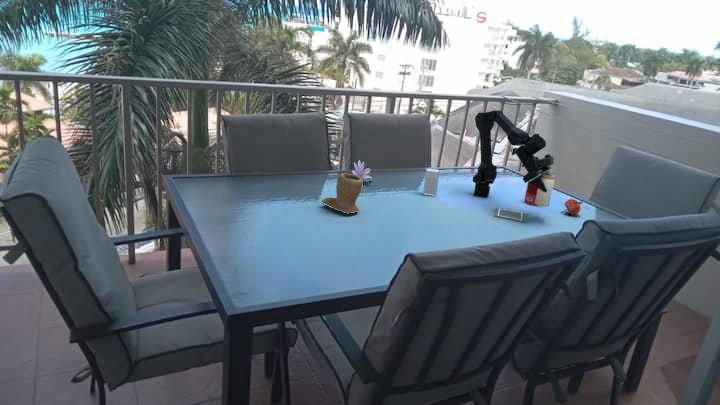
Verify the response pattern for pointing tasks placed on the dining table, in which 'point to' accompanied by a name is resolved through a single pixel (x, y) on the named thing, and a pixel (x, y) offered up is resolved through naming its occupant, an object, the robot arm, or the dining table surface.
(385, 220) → the dining table surface
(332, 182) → the dining table surface
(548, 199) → the tumbler
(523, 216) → the mat
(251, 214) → the dining table surface
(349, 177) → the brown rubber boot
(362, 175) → the water lily
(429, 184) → the skincare box
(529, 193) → the canned food
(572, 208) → the pomegranate
